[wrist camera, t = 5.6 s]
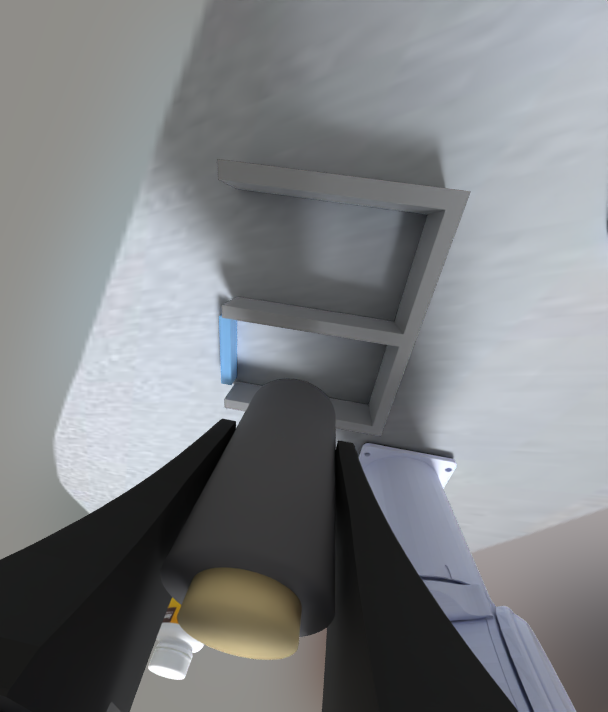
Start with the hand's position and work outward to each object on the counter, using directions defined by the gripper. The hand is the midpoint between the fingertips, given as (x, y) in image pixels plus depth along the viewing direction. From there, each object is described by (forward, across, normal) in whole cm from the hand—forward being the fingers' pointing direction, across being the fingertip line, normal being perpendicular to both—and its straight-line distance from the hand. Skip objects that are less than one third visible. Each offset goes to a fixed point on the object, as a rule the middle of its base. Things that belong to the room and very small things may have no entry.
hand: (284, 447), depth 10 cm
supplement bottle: (+9, +9, +33) cm, 35 cm away
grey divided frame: (+9, 0, -4) cm, 9 cm away
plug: (+2, 0, 0) cm, 2 cm away
